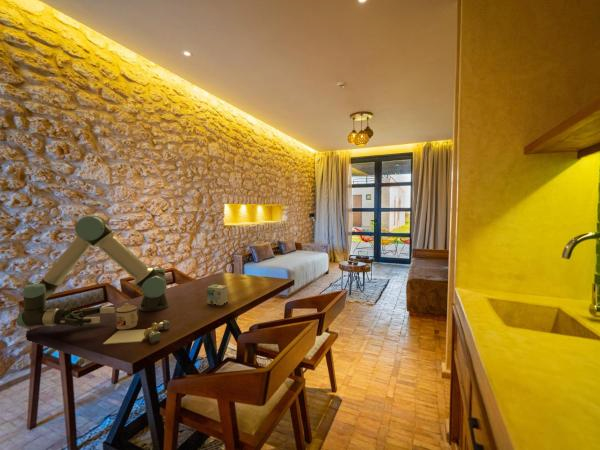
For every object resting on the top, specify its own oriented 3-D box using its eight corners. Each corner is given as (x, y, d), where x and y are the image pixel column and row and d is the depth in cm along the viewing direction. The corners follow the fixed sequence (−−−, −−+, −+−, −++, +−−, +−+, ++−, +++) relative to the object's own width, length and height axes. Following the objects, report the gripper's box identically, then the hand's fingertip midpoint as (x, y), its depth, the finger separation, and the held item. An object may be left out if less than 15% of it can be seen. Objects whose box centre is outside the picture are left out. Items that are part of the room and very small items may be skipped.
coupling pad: (118, 331, 132) (118, 330, 132) (152, 329, 134) (151, 328, 134) (103, 344, 119) (103, 343, 119) (141, 341, 121) (140, 340, 121)
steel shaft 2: (165, 326, 138) (164, 317, 138) (169, 329, 135) (169, 319, 135) (151, 331, 132) (151, 321, 132) (155, 333, 130) (155, 324, 130)
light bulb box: (206, 303, 174) (206, 286, 173) (213, 300, 180) (213, 284, 180) (221, 305, 170) (221, 288, 170) (227, 302, 177) (227, 285, 176)
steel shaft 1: (161, 340, 123) (161, 329, 123) (151, 343, 120) (151, 333, 119) (153, 336, 127) (153, 326, 127) (143, 339, 123) (143, 329, 123)
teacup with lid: (111, 328, 136) (111, 304, 136) (129, 321, 144) (129, 299, 144) (128, 332, 131) (127, 308, 131) (145, 325, 139) (145, 302, 139)
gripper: (75, 315, 145) (119, 313, 148) (38, 335, 121) (92, 332, 124) (75, 301, 145) (119, 299, 148) (37, 318, 120) (92, 316, 124)
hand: (107, 314), depth 136 cm, fingers open, 13 cm apart
